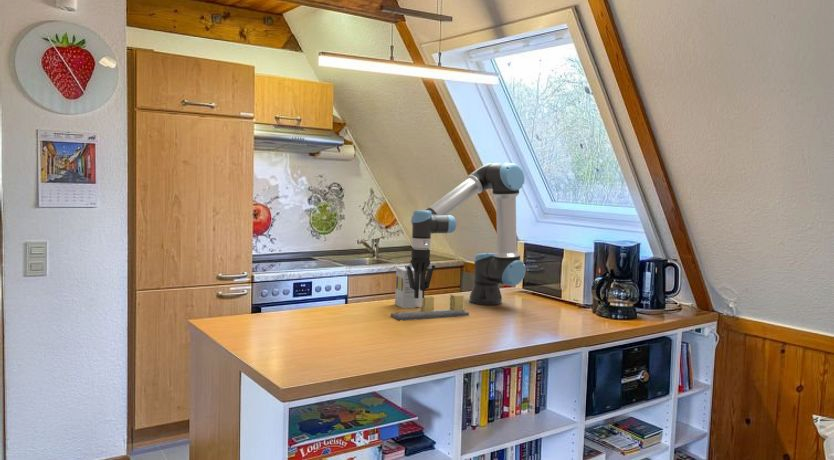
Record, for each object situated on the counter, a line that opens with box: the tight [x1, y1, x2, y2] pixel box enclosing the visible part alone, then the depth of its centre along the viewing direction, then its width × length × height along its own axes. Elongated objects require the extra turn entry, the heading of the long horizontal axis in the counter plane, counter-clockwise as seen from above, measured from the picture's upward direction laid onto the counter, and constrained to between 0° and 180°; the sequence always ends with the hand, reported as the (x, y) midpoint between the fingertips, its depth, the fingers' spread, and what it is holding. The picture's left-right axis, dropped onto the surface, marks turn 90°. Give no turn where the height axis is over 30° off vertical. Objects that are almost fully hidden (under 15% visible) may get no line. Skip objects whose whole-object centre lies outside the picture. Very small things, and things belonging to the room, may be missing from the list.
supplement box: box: [394, 266, 420, 309], centre depth 279 cm, size 10×9×17 cm
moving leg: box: [419, 295, 435, 312], centre depth 260 cm, size 7×4×7 cm, turn 26°
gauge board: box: [390, 293, 470, 322], centre depth 262 cm, size 8×32×8 cm, turn 116°
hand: (418, 305), depth 257 cm, fingers closed
